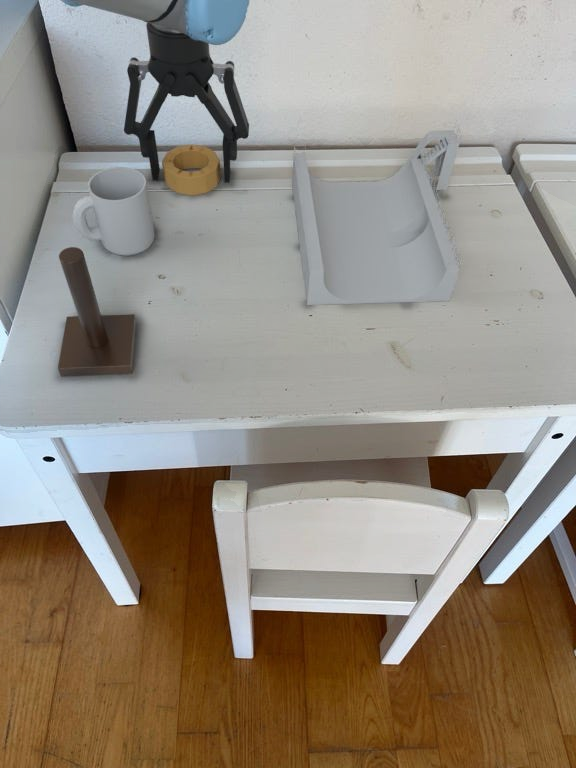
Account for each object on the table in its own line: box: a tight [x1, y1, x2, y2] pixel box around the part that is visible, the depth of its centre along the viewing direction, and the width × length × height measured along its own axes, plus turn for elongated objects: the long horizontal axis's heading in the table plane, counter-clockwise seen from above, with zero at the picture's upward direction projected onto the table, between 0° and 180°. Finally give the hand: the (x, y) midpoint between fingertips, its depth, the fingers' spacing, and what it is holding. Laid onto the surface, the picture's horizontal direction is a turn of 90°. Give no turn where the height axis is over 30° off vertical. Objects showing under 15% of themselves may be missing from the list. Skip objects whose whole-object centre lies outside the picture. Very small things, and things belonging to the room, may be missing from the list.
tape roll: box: [161, 144, 222, 196], centre depth 94 cm, size 8×8×3 cm
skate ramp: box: [291, 121, 463, 306], centre depth 85 cm, size 25×23×10 cm
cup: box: [72, 166, 156, 257], centre depth 83 cm, size 7×10×9 cm
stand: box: [57, 246, 137, 378], centre depth 69 cm, size 8×8×14 cm
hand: (191, 176), depth 95 cm, fingers open, 10 cm apart
